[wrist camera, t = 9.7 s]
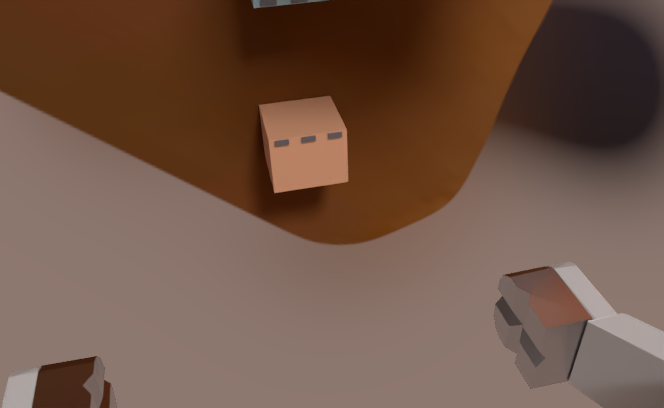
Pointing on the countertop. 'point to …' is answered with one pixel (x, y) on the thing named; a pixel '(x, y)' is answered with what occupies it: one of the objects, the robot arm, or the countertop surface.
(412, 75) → the countertop surface
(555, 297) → the robot arm
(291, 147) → the block
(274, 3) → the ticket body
